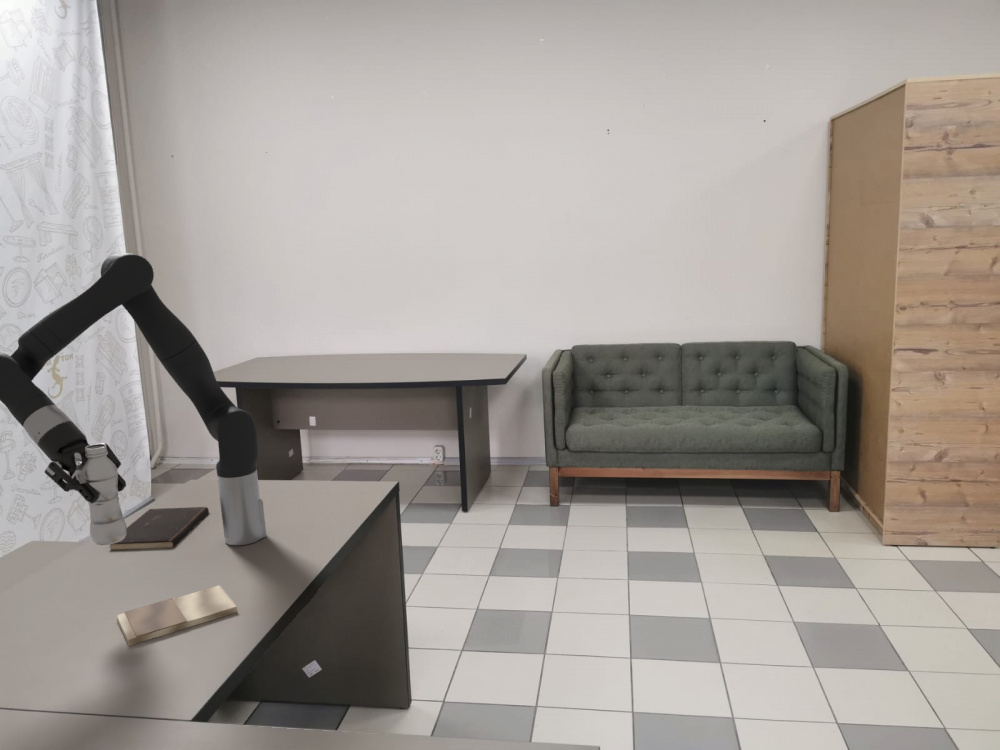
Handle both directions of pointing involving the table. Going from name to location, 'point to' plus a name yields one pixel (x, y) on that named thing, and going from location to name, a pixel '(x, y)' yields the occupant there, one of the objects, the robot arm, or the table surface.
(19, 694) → the table surface
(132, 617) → the board
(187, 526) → the hardcover book
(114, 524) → the plastic bottle
